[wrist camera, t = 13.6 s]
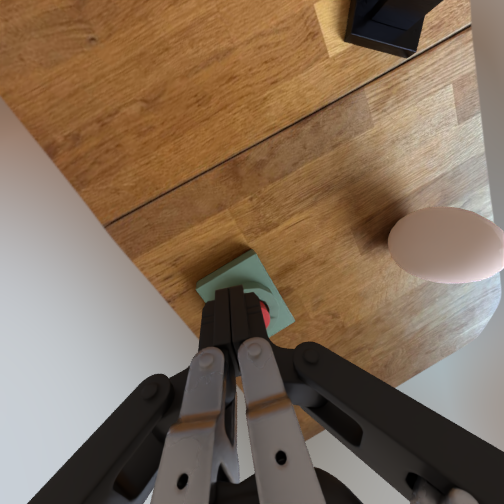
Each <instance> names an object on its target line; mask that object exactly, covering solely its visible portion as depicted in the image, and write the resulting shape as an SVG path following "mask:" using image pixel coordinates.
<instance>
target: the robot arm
mask: <svg viewBox="0 0 504 504" xmlns="http://www.w3.org/2000/svg"><path fill="white" fill-rule="evenodd" d="M237 376H241V378H242V384H243V390H244V397H245V403H246V419H247V426H248V432H249V438H250V445H251V451H252V457H253V463H254V469H255V474H253V475H252V476H250V477H249V478H247V479H245V480H244V481H242V482H240V474H239V461H238V454H237V392H236V377H237ZM292 404H293V405H299V406H300V407H301V408H302V409H303V410H304V411H305V412H306V413H307V414H309V415H310V416H311V417H312V418H313V419H314V420H316V421H317V422H318V423H319V424H320V425H321V426H323V427H324V428H325V429H326V430H327V431H329V432H330V433H331V434H332V435H333V436H334V437H335V438H337V439H338V440H339V441H340V442H341V443H342V444H344V445H345V446H346V447H347V448H348V449H350V450H351V451H352V452H353V453H354V454H355V455H356V456H358V457H359V458H360V459H361V460H362V461H364V462H365V463H366V464H367V465H368V466H369V467H370V468H371V469H373V470H374V471H375V472H376V473H378V475H380V476H381V477H382V478H383V479H384V480H386V481H387V482H388V483H389V484H390V485H391V486H392V487H394V488H395V489H396V490H397V491H398V492H400V493H401V494H402V495H403V496H404V497H405V498H407V499H408V500H409V501H410V504H504V452H503V451H501V450H499V449H498V448H496V447H494V446H493V445H491V444H489V443H487V442H486V441H484V440H482V439H481V438H479V437H477V436H476V435H474V434H472V433H470V432H469V431H467V430H465V429H464V428H462V427H460V426H458V425H457V424H455V423H453V422H452V421H450V420H448V419H446V418H445V417H443V416H441V415H440V414H438V413H436V412H435V411H433V410H431V409H429V408H428V407H426V406H424V405H423V404H421V403H419V402H417V401H416V400H414V399H412V398H411V397H409V396H407V395H406V394H404V393H402V392H400V391H399V390H397V389H395V388H394V387H392V386H390V385H388V384H387V383H385V382H383V381H382V380H380V379H378V378H377V377H375V376H373V375H371V374H370V373H368V372H366V371H365V370H363V369H361V368H359V367H358V366H356V365H354V364H353V363H351V362H349V361H347V360H346V359H344V358H342V357H341V356H339V355H337V354H336V353H334V352H332V351H330V350H329V349H327V348H325V347H324V346H322V345H320V344H318V343H315V342H303V343H301V344H299V345H298V346H297V347H296V348H295V349H287V348H281V347H278V346H276V345H275V344H273V343H272V342H271V341H270V339H269V337H268V334H267V330H266V326H265V321H264V317H263V313H262V309H261V305H260V300H259V297H258V296H257V295H256V294H255V293H254V292H249V293H245V294H244V289H243V285H237V286H232V287H228V288H223V289H218V290H215V300H211V301H207V303H206V304H205V306H204V308H203V311H202V320H201V329H200V339H199V349H198V353H197V354H196V355H195V356H194V357H193V359H192V361H191V364H190V366H189V367H188V368H187V369H185V370H183V371H182V372H180V373H178V374H176V375H174V376H172V377H170V378H168V377H167V376H166V375H164V374H155V375H152V376H150V377H148V378H146V379H145V380H144V381H142V382H141V383H140V384H139V385H138V387H137V388H136V389H135V390H134V391H133V392H132V393H131V394H130V395H129V396H128V397H127V398H126V399H125V400H124V402H122V404H121V405H120V406H119V407H118V408H117V409H116V410H115V411H114V412H113V413H112V414H111V415H110V416H109V417H108V418H107V419H106V420H105V422H104V423H103V424H102V425H101V426H100V427H99V428H98V429H97V430H96V431H95V432H94V433H93V434H92V435H91V436H90V438H89V439H88V440H87V441H86V442H85V443H84V444H83V445H82V446H81V447H80V448H79V449H78V450H77V451H76V452H75V453H74V454H73V456H72V457H71V458H70V459H69V460H68V461H67V462H66V463H65V464H64V465H63V466H62V467H61V468H60V469H59V470H58V471H57V473H56V474H55V475H54V476H53V477H52V478H51V479H50V480H49V481H48V482H47V483H46V484H45V485H44V486H43V487H42V488H41V490H40V491H39V492H38V493H37V494H36V495H35V496H34V497H33V498H32V499H31V500H30V501H29V502H28V503H27V504H143V503H144V502H145V500H146V499H147V497H148V495H149V494H150V493H151V491H152V490H153V488H154V490H153V495H152V499H151V503H150V504H363V503H362V502H361V501H360V500H359V499H358V498H357V497H356V496H355V495H354V494H353V493H352V492H351V490H350V489H349V488H347V487H346V486H345V485H344V484H343V483H342V482H341V481H339V480H338V479H337V478H336V477H334V476H333V475H331V474H329V473H328V472H326V471H324V470H322V469H320V468H316V467H313V464H312V461H311V458H310V455H309V452H308V449H307V446H306V443H305V440H304V437H303V434H302V431H301V429H300V426H299V423H298V420H297V417H296V414H295V411H294V408H293V405H292Z"/></svg>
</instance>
